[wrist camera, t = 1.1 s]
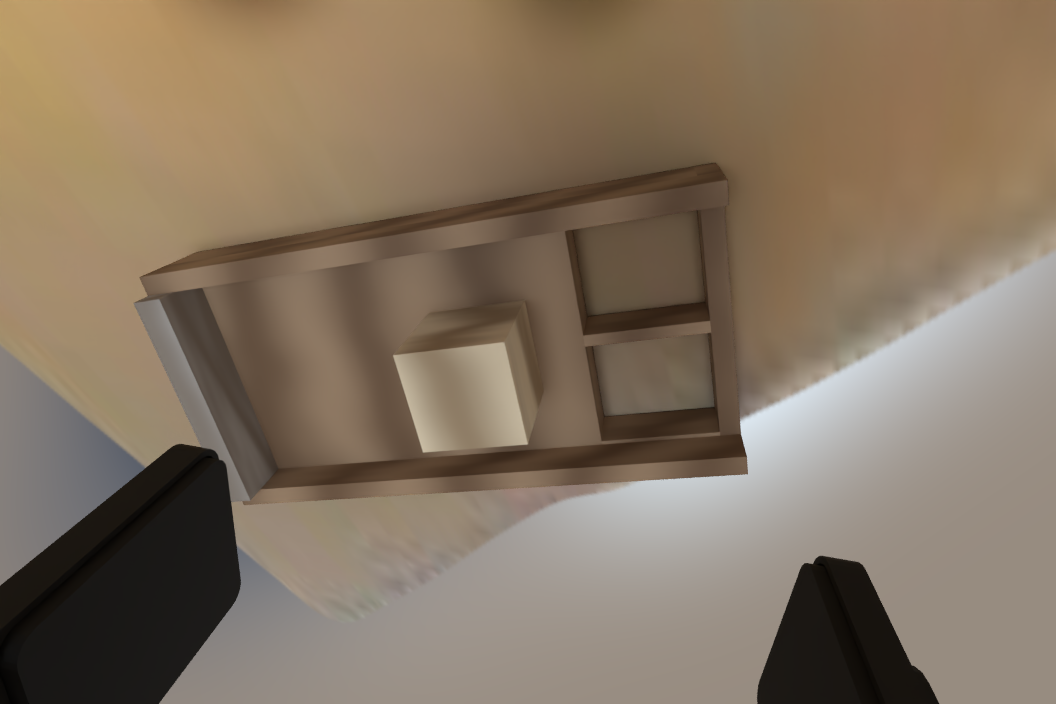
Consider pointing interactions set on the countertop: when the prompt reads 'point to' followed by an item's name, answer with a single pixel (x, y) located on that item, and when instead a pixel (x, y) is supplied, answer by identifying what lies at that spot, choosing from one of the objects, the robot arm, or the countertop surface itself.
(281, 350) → the wooden tray
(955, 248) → the countertop surface
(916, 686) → the robot arm
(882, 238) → the countertop surface
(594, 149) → the countertop surface
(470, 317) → the beech block
